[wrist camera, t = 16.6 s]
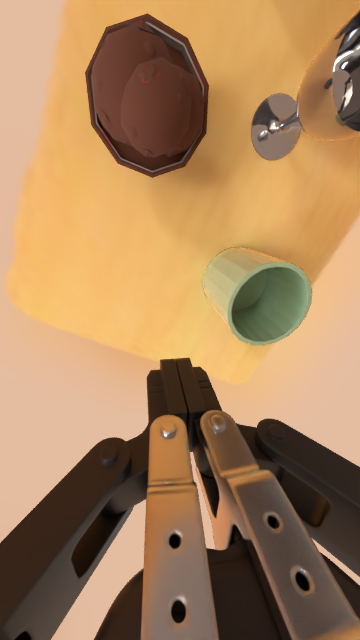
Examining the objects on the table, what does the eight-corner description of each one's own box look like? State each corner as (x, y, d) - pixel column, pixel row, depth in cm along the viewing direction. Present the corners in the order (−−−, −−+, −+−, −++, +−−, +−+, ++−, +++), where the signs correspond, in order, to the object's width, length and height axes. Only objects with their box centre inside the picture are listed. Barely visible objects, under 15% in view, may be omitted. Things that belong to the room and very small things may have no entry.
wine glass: (268, 177, 34) (355, 156, 20) (236, 126, 30) (314, 60, 17) (313, 131, 32) (440, 74, 19) (284, 71, 29) (412, -49, 15)
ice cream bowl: (205, 125, 30) (260, 57, 16) (156, 203, 33) (169, 198, 19) (134, 48, 26) (130, -125, 12) (85, 145, 29) (39, 88, 15)
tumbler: (189, 283, 39) (209, 312, 28) (238, 231, 36) (280, 240, 25) (231, 321, 43) (261, 359, 32) (277, 277, 41) (327, 301, 30)
